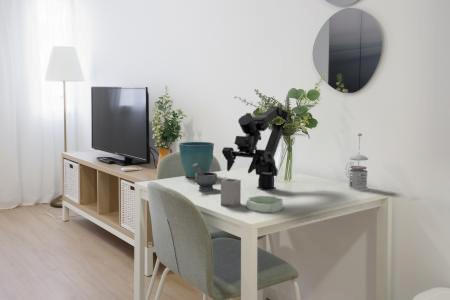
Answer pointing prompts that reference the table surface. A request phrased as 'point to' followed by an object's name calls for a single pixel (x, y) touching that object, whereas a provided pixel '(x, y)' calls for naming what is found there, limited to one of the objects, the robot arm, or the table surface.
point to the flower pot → (196, 156)
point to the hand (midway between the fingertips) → (238, 171)
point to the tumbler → (230, 192)
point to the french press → (357, 173)
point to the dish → (264, 203)
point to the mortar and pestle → (204, 178)
